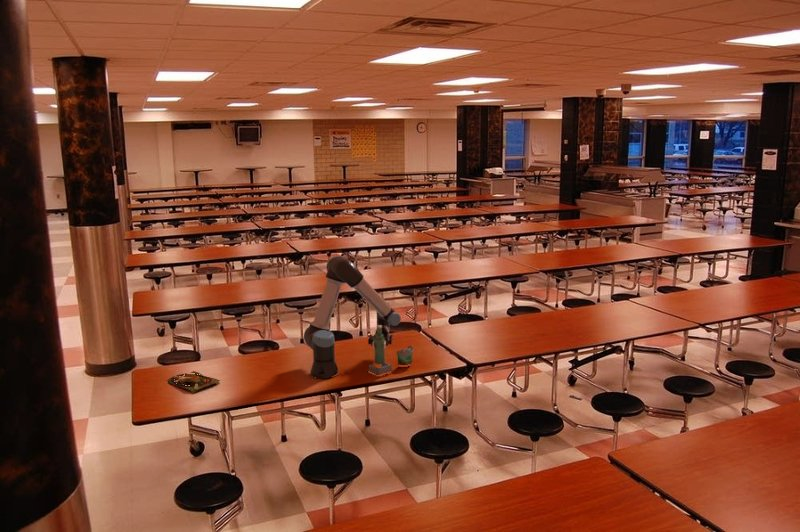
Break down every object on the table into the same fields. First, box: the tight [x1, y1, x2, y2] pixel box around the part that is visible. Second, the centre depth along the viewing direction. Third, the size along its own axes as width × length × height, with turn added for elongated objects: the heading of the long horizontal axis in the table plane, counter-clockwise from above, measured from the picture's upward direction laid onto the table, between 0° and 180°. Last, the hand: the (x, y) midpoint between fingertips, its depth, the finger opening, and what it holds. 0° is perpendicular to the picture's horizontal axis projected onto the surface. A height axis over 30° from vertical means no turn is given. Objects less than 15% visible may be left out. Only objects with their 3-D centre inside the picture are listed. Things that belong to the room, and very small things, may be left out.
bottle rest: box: [368, 361, 393, 375], centre depth 341 cm, size 10×10×5 cm
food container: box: [396, 345, 415, 366], centre depth 351 cm, size 12×6×10 cm, turn 143°
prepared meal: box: [167, 370, 221, 395], centre depth 328 cm, size 28×4×18 cm
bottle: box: [374, 324, 386, 365], centre depth 338 cm, size 6×6×21 cm
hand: (378, 346), depth 333 cm, fingers closed on bottle, 6 cm apart
